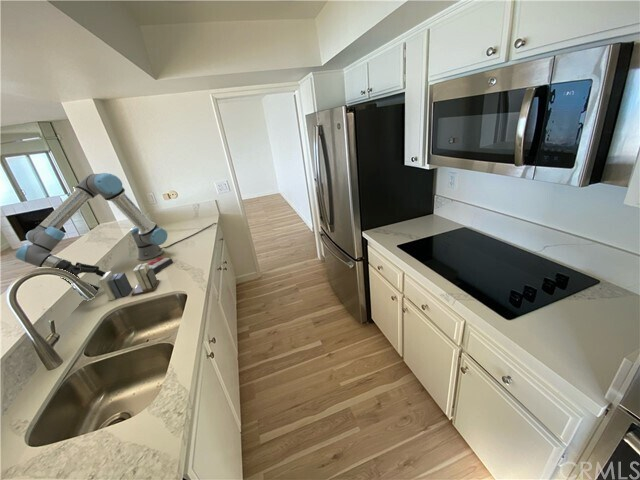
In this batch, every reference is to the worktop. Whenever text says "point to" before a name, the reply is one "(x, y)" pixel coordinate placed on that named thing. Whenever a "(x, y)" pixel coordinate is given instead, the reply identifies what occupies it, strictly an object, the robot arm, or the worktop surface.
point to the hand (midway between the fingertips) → (104, 283)
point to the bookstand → (145, 279)
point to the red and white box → (159, 264)
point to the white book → (107, 285)
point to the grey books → (120, 285)
